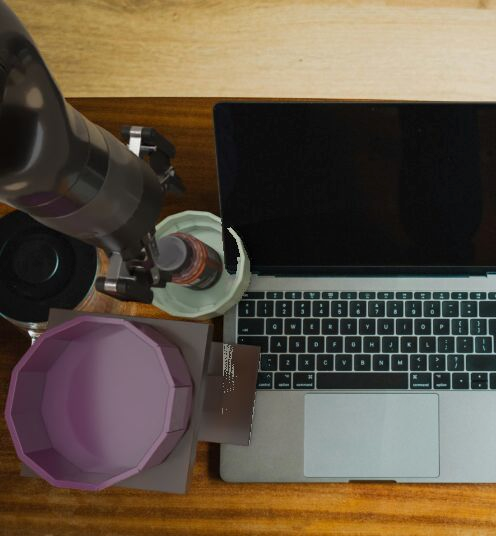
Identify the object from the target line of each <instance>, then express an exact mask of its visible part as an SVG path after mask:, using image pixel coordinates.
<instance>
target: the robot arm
mask: <svg viewBox="0 0 496 536" xmlns="http://www.w3.org/2000/svg"><path fill="white" fill-rule="evenodd" d="M120 138H121V140H122V141H123V142H125V143H127V144H126V145H125V144H124V143H123V142H122V141H121V140H120V139H118V138H117V137H116V136H115V135H114V134H112V133H111V132H110V131H108V130H107V129H105V128H103V127H102V126H100V125H98V124H96V123H95V122H92V121H91V120H89V119H88V118H87V117H85V115H83V114H82V113H81V112H79V111H78V110H77V109H76V108H75V107H73V106H72V104H70V103H69V102H67V100H66V98H65V96H64V92H63V91H62V88H61V87H60V84H59V83H58V81H57V79H56V78H55V75H54V74H53V72H52V70H51V68H50V67H49V65H48V63H47V61H46V60H45V58H44V55H43V54H42V52H41V51H40V49H39V47H38V45H37V43H36V42H35V40H34V38H33V37H32V35H31V33H30V32H29V29H27V27H26V26H25V24H24V22H23V21H22V20H21V18H20V17H19V16H18V15H17V14H16V12H15V11H14V10H13V9H12V8H11V7H10V5H9V4H8V3H7V2H6V1H5V0H0V203H2V204H5V205H7V206H9V207H12V208H14V209H15V210H19V211H20V212H22V213H25V214H27V215H29V216H30V217H31V218H33V220H35V221H37V222H39V224H42V225H43V226H46V227H48V228H50V229H52V230H55V231H57V232H60V233H62V234H64V235H66V236H69V237H72V238H74V239H76V240H79V241H82V242H84V243H86V244H88V245H90V246H93V247H95V248H98V249H101V250H102V251H103V253H104V255H105V256H106V258H107V259H109V263H108V269H107V272H106V273H105V275H104V276H101V275H99V276H97V277H96V279H95V282H94V288H95V291H96V292H98V293H100V294H103V295H105V296H108V297H110V298H113V299H115V300H117V301H119V302H122V303H139V304H145V305H151V304H153V303H152V302H153V299H154V293H153V291H152V290H150V289H151V287H154V288H165V287H166V283H167V282H168V283H172V277H173V275H171V274H169V273H167V272H164V271H162V270H159V269H158V267H157V264H156V263H157V261H158V259H159V257H160V254H159V250H158V247H157V243H156V239H155V233H156V228H155V226H156V224H157V222H158V221H159V219H160V217H161V213H162V211H163V205H164V196H165V195H166V194H167V195H168V194H169V195H179V196H184V195H186V190H187V189H186V188H187V187H186V185H184V184H183V182H182V181H183V180H182V177H180V176H179V175H178V174H177V172H176V168H175V166H171V160H173V159H175V157H176V154H177V150H176V149H177V148H176V146H175V144H174V143H172V141H170V140H169V139H168V138H166V137H165V136H164V135H163V134H161V132H159V130H156V128H154V127H147V126H139V125H138V126H136V125H127V124H126V125H125V124H123V125H122V126H121V128H120ZM145 157H148V158H149V161H148V162H147V160H146V159H144V158H145ZM144 248H145V251H142V250H143V249H144ZM137 266H139V267H144V268H138V267H137Z"/></svg>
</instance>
